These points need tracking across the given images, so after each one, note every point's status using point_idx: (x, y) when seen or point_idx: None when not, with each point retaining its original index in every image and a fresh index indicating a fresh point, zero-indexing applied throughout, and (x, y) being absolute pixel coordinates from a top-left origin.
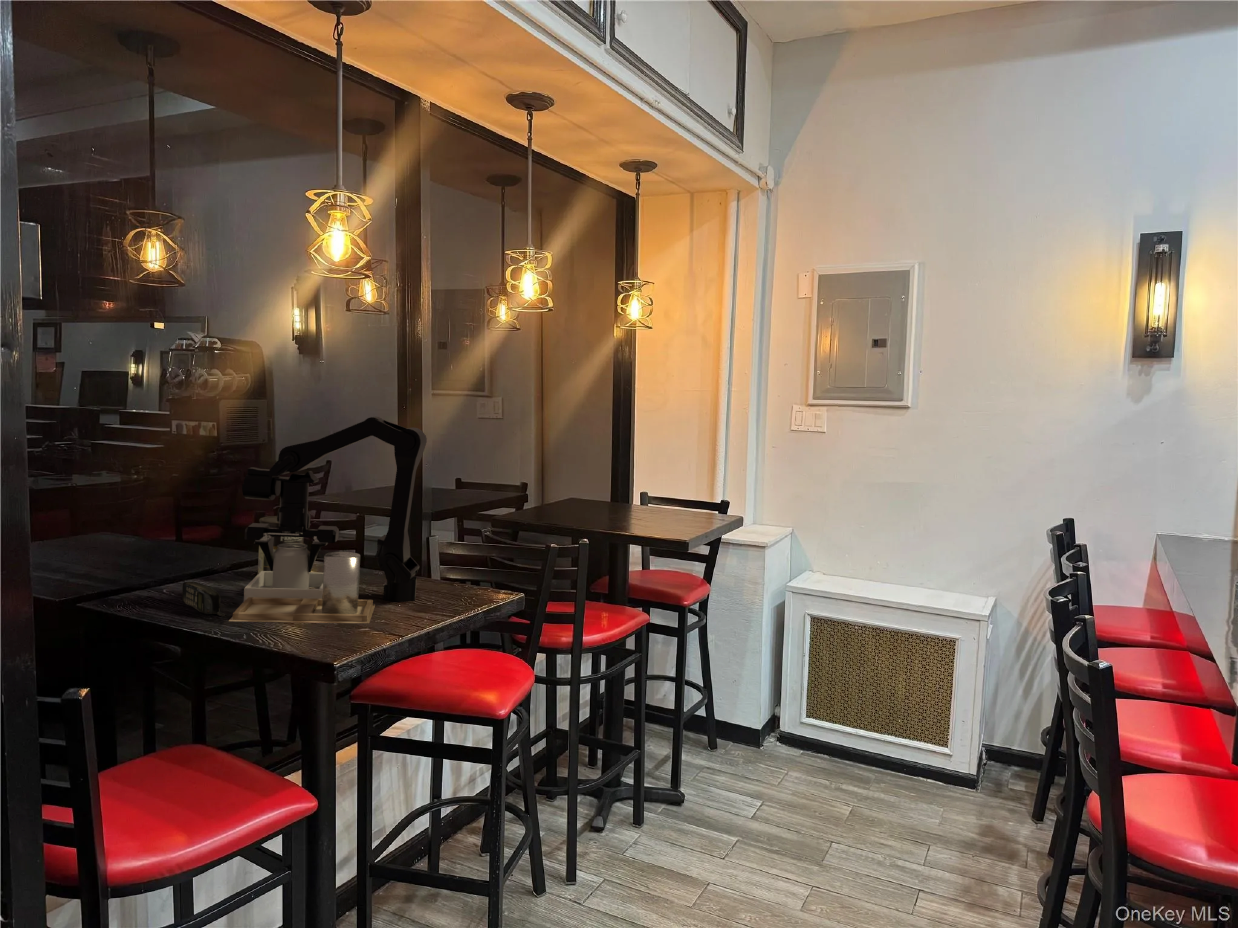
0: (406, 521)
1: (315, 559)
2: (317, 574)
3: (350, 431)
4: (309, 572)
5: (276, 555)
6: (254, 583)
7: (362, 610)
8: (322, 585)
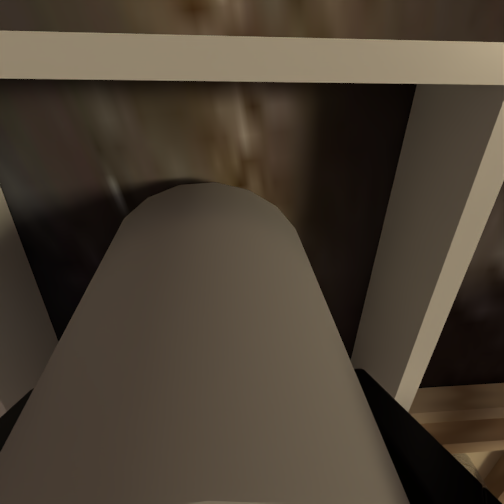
0: None
1: (448, 466)
2: (397, 82)
3: None
4: (321, 48)
5: None
6: (2, 384)
7: (490, 456)
8: (400, 396)
